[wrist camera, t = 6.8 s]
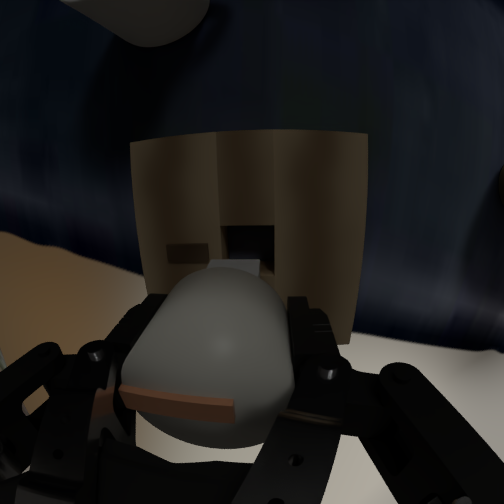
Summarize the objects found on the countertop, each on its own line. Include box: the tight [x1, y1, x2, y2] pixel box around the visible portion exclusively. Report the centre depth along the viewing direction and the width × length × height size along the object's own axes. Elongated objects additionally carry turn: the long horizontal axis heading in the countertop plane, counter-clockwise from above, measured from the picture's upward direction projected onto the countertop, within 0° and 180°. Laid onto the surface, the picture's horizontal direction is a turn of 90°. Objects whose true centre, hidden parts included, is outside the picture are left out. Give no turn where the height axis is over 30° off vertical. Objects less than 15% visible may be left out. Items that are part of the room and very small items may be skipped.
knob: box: [118, 259, 295, 449], centre depth 10 cm, size 5×5×8 cm
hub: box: [130, 130, 368, 345], centre depth 20 cm, size 16×16×3 cm
